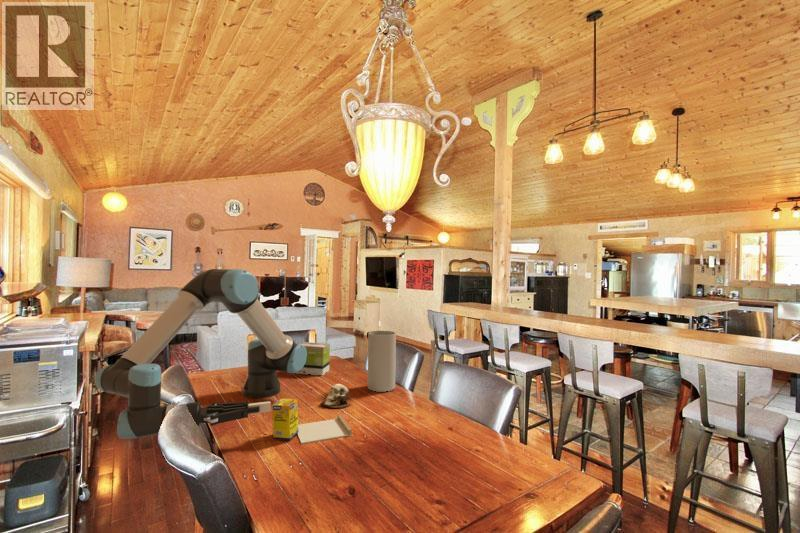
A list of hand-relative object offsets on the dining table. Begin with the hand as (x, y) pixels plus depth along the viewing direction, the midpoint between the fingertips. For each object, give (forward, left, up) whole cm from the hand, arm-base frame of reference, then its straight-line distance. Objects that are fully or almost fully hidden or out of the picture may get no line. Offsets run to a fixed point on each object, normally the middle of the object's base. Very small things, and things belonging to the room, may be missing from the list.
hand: (270, 406), depth 119 cm
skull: (-33, +15, -11) cm, 38 cm away
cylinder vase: (-53, +31, -11) cm, 63 cm away
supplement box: (-2, +4, -10) cm, 12 cm away
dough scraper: (-7, +15, -10) cm, 20 cm away
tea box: (-76, -6, -11) cm, 77 cm away
